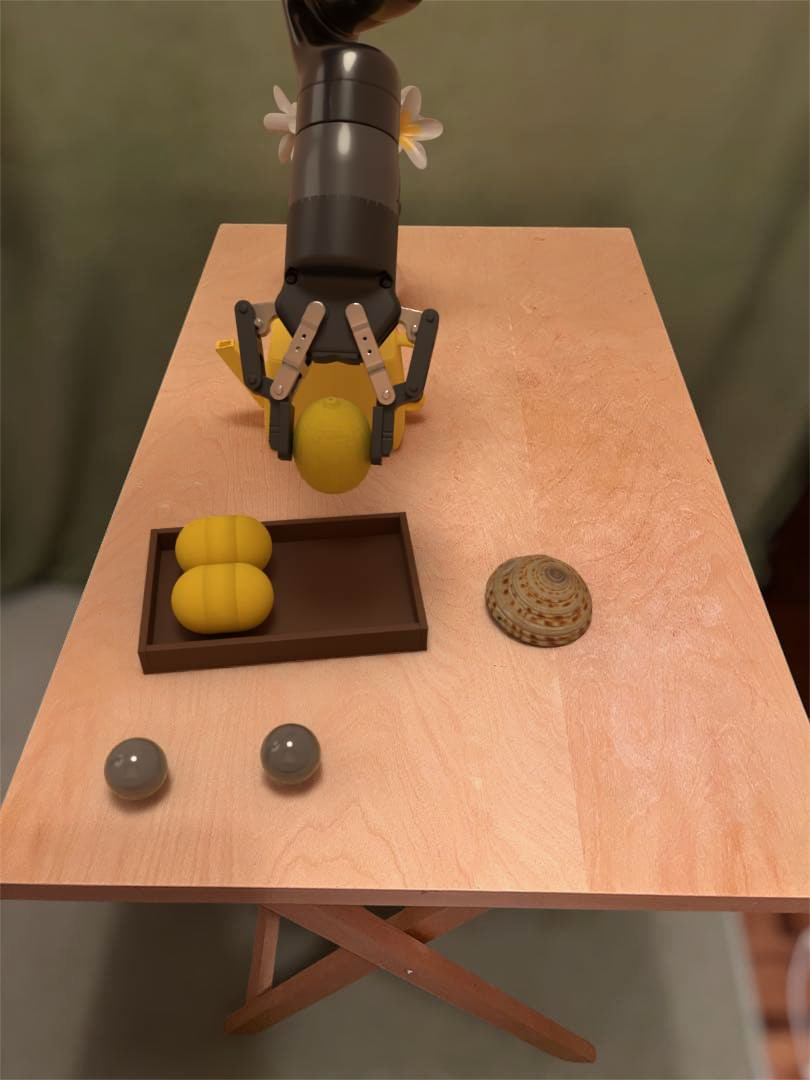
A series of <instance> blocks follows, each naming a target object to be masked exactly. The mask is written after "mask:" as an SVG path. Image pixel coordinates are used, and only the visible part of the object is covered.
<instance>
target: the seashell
mask: <svg viewBox="0 0 810 1080" xmlns="http://www.w3.org/2000/svg"><path fill="white" fill-rule="evenodd" d="M485 598H486V603H487V605H488V606H487V607H488V608H489V611H490V613H491V614H492V616H493V618H494V619H495V620H496V622H497V623H498V624H499V625H500V626H501V627H502V628H503V630H505V631H506V632H508V634H511V635H512V636H513V637H516V638H517V639H519V640H520V641H523V642H525V643H527V644H531V645H535V646H539V647H559V646H563V645H566V644H569V643H571V642H573V641H576V640H577V639H578V638H580V637H581V636H582V635H583V634H584V633H585V632H586V630H587V629H588V627H589V626H590V623H591V621H592V615H593V599H592V594H591V592H590V589H589V587H588V584H587V582H586V581H585V580H584V578H583V577H582V575H581V574H580V573H579V572H578V571H577V570H575V568H574V567H573V566H571V565H570V564H569V563H568V562H565V561H563V560H560V559H558V558H555V557H553V556H550V555H547V554H540V553H539V554H529V555H523V556H517V557H511V558H509V559H507V560H505V561H504V562H502V563H501V564H499V565H498V566H496V568H495V569H494V570H493V572H492V573H491V574H490V576H489V577H488V580H487V582H486V587H485Z"/></svg>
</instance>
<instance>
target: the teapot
mask: <svg viewBox="0 0 810 1080" xmlns="http://www.w3.org/2000/svg"><path fill="white" fill-rule="evenodd" d="M271 327H272V328H271V331H270V332H271V333H270V338H269V343H268V344H269V346H268V351H267V358H266V361H265V369H266V377H268V378H271V379H273V380H274V379H275V377H276V375H277V373H278V371H279V369H280V367H281V365H282V361H283V358H284V355H285V353H286V351H287V349H288V347H289V345H290V343H291V341H292V337H291V336H290V334H289V333H288V331H287V330H286V328H285V327H284V325H283V324H282V322H281V320H280V319H279V318H277V319H275V320H273V322H272V326H271ZM401 347H407V348H411V349H412V350H413V349H414V344H412V343H410V342H409V341H408V340H407V337H406V332H399V331H398V326H397V327H396V328H395V329H394V330H393V332H392V333H391V334H390V335H389V336H388V338H387V339H386V340H385V341H384V343H383V344H382V345H381V346H380V348H379V351H380V354H381V357H382V359H383V362H384V365H385V368H386V371H387V373H388V376H389V378H390V381H391V384H392V386H393V385H397V384H400V383H403V382H406V380H405V370H404V363H403V361H404V360H403V354H402V348H401ZM298 349H299V348H298ZM298 349H297V350H298ZM215 352H216V354H218V357H220V359H222V361H223V362H224V363H225V365H226V366H227V367H228V368H229V369H230V371H231V372H232V373H233V374H234V375H235V377H236V378H237V379H238V381H239V382H240V383H241V384H242V386H243V387H244V388H245V389H246V390H247V392H248V393H249V394H250V395H251V396H252V398H253V399H254V401H255V402H256V403H257V404H258V405H259V407H260V408H261V409H263V415H264V417H263V418H264V420H263V421H264V430H265V433H266V436H267V439H268V440H269V422H270V402H269V400H268V399H266V398H264V397H262V396H259V395H255V394H253V393H252V392H251V391H250V390H249V389H248V388H247V387H246V386H245V384H244V381H243V374H242V366H241V358H240V350H239V342H237V341H236V339H235V338H229V339H224V340H218V341H216V342H215ZM305 359H306V358H305ZM327 397H338V398H342V399H345V400H348V401H350V402H352V403H353V404H355V405H356V406H357V407H358V408H359V409H360V410H361V411H362V412H363V413H364V415H365V416H366V418H367V421H368V423H369V426H370V429H371V432H372V419H373V406H376V400H377V397H376V395H375V392H374V389H373V387H372V384H371V382H370V379H369V377H368V374H367V371H366V369H365V366H364V363H360V365H347V364H344V363H341V362H333V363H328V364H316V363H314V362H313V364H312V366H311V368H310V370H309V372H308V374H307V376H306V377H305V378H304V379H303V381H302V383H301V385H300V387H299V389H298V391H297V393H296V395H295V397H294V399H293V401H292V405H293V406H294V407H295V418H294V430H295V427H296V424H297V421H298V419H299V416H300V415H301V413H302V412H303V411H304V410H305V408H307V407H308V406H309V405H310V404H312V403H313V402H315V401H317V400H319V399H323V398H327ZM425 402H426V395H425V391H424V392H423V397H422V399H421V400H420V401H419V402H417V403H408V404H405V405H402V406H400V407H399V408H398V409H397V410H396V412H395V419H394V440H393V451H395V450H397V449H399V447H400V445H401V442H402V440H403V436H404V433H405V429H406V428H405V427H406V426H405V425H406V413H414V412H418V411H420V410H421V409H422V408H423V407H424V405H425Z"/></svg>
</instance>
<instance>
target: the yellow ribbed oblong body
mask: <svg viewBox="0 0 810 1080" xmlns="http://www.w3.org/2000/svg"><path fill="white" fill-rule="evenodd" d="M273 601H274V593H273V587H272V585H271V582H270V580H269V579H268V577H267V576H266V575H265V574H264V573H263V572H262V571H261V570H260V569H258V568H257V567H255V566H253V565H250V564H246V563H226V564H213V565H202V566H197V567H194V568H192V569H190V570H188V571H187V572H185V573H184V574H183V575H182V576H181V577H180V578H179V579H178V581H177V582H176V584H175V586H174V588H173V592H172V597H171V603H172V609H173V612H174V614H175V616H176V618H177V619H178V621H179V622H180V623H181V624H182V625H183V626H184V627H186V628H187V629H189V630H191V631H193V632H196V633H201V634H215V633H228V632H240V631H246V630H250V629H253V628H255V627H257V626H258V625H260V624H261V623H262V622H263V621H264V620H265V619H266V618H267V616H268V615H269V613H270V611H271V609H272V606H273Z"/></svg>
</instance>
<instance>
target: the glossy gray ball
mask: <svg viewBox="0 0 810 1080" xmlns="http://www.w3.org/2000/svg"><path fill="white" fill-rule="evenodd" d="M168 770H169V762H168V758H167V755H166V753H165V751H164V749H163V748H162V747H161V746H160V745H159V744H158V743H157V742H155V741H154V740H152V739H150V738H147V737H142V736H133V737H129V738H126V739H123V740H121V741H119V742H118V743H117V744H116V745H115V746H114V747H113V748H112V749H111V750H110V751H109V753H108V754H107V756H106V758H105V761H104V766H103V778H104V781H105V783H106V786H107V787H108V789H109V790H110V791H111V792H112V793H113V794H114V795H116V796H117V797H118V798H121V799H124V800H127V801H141V800H145V799H147V798H149V797H151V796H153V795H154V794H155V793H156V792H158V791H159V790H160V788H162V786H163V784H164V783H165V781H166V778H167V775H168Z"/></svg>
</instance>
